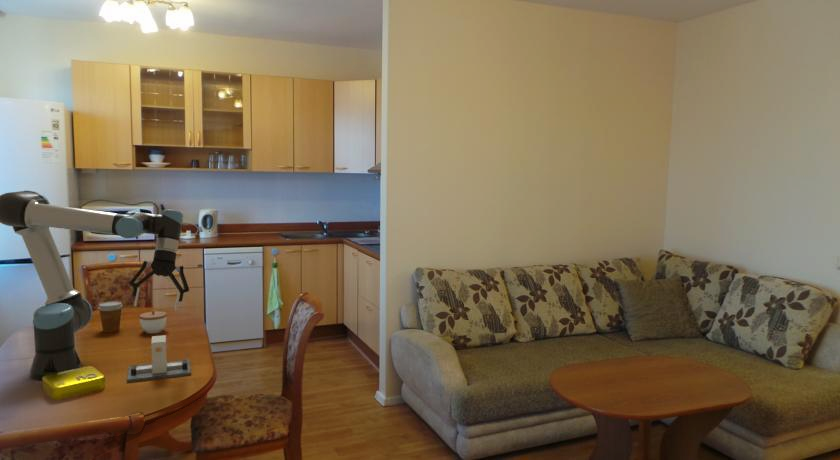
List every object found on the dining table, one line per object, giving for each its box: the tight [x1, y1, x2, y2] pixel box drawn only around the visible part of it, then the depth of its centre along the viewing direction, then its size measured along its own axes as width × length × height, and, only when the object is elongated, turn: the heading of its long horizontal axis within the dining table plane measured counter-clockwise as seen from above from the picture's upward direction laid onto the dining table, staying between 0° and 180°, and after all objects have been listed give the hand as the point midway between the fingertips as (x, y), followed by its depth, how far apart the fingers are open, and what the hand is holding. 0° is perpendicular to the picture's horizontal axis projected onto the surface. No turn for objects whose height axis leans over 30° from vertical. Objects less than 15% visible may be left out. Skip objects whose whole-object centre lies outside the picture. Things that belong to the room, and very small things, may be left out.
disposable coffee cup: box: [97, 300, 123, 333], centre depth 248 cm, size 10×10×12 cm
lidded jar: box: [139, 309, 168, 334], centre depth 248 cm, size 11×11×9 cm
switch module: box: [150, 334, 168, 374], centre depth 200 cm, size 9×4×11 cm, turn 24°
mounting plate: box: [126, 358, 192, 383], centre depth 201 cm, size 20×14×3 cm
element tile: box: [41, 365, 106, 401], centre depth 185 cm, size 15×15×5 cm
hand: (155, 308), depth 205 cm, fingers open, 13 cm apart
